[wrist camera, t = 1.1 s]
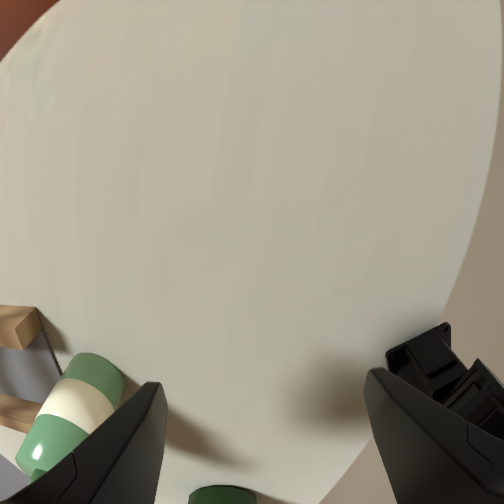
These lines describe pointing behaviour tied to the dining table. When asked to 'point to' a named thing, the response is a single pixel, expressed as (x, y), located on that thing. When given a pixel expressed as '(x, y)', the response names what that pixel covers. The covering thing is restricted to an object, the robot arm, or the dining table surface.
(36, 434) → the bottle
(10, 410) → the cradle
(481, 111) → the dining table surface
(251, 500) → the bottle
